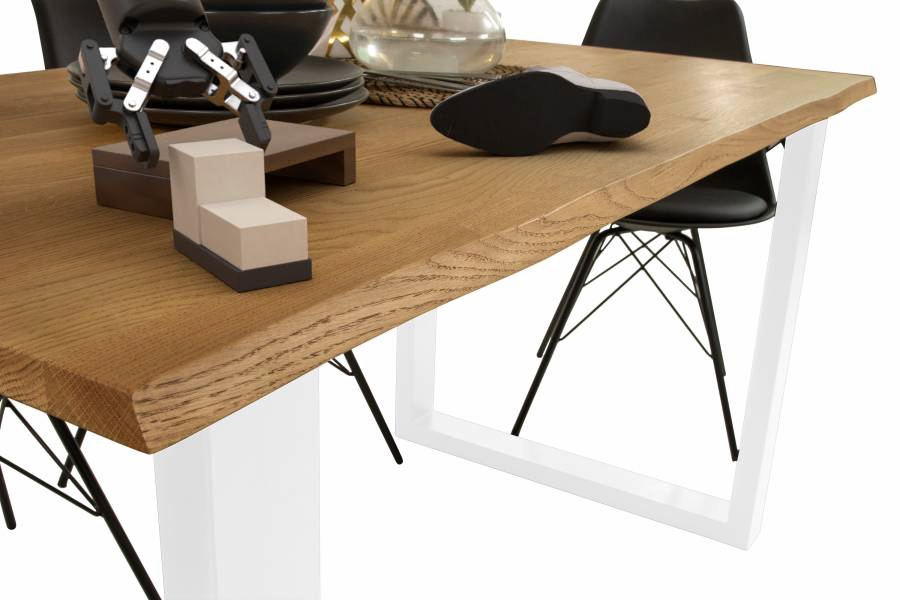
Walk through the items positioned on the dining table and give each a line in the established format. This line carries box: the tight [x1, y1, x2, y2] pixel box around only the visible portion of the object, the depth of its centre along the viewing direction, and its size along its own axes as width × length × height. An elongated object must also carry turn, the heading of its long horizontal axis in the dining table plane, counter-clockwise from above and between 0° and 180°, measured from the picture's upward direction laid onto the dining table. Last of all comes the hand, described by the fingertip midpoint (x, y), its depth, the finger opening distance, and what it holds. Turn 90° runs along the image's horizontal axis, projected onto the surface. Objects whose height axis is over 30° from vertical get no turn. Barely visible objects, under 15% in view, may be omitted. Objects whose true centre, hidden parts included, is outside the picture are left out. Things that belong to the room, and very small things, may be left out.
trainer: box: [168, 138, 313, 293], centre depth 73 cm, size 12×6×8 cm, turn 35°
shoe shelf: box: [91, 116, 357, 220], centre depth 93 cm, size 14×20×5 cm
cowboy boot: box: [429, 65, 652, 157], centre depth 123 cm, size 10×28×25 cm
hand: (209, 157), depth 75 cm, fingers open, 8 cm apart
